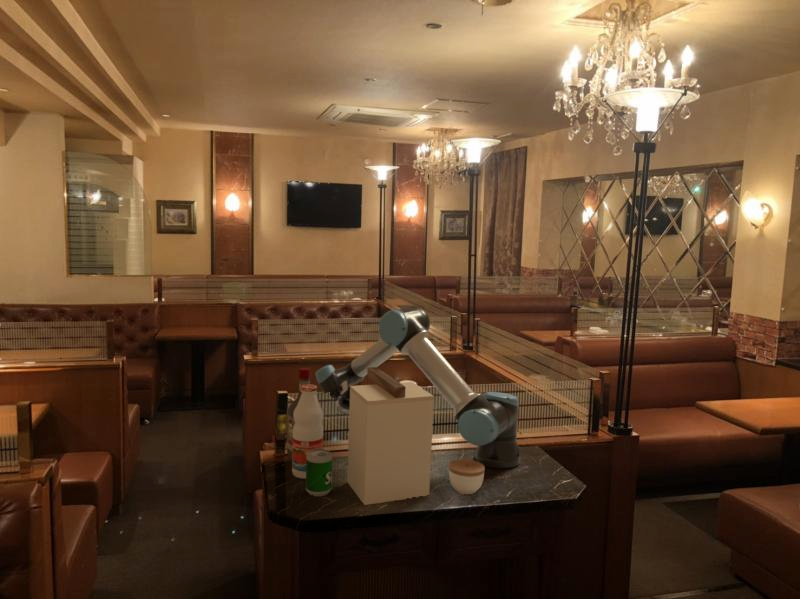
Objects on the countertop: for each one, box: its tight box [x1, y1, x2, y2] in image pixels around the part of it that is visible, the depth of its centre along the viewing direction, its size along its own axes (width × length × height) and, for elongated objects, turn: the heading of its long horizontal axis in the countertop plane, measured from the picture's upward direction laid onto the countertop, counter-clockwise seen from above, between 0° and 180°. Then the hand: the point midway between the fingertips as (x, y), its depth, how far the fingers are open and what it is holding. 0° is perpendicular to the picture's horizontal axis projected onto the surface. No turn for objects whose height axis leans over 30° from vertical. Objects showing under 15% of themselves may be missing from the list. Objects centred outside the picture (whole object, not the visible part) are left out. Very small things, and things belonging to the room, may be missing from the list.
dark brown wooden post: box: [366, 367, 406, 398], centre depth 185 cm, size 3×24×3 cm, turn 22°
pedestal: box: [346, 381, 435, 506], centre depth 182 cm, size 20×16×30 cm
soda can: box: [305, 448, 334, 497], centre depth 180 cm, size 8×8×12 cm
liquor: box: [286, 367, 311, 460], centre depth 205 cm, size 9×9×30 cm
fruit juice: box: [291, 383, 324, 480], centre depth 192 cm, size 9×9×28 cm
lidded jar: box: [448, 458, 486, 495], centre depth 185 cm, size 11×11×9 cm
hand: (366, 383), depth 201 cm, fingers open, 13 cm apart
